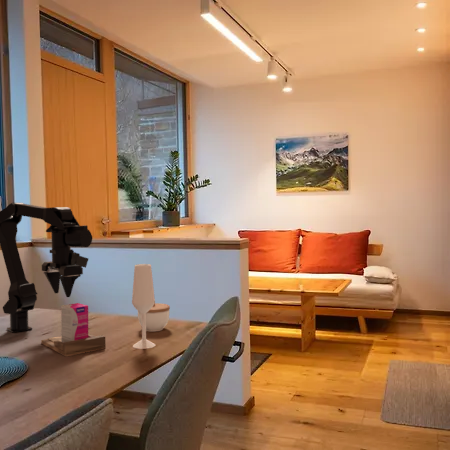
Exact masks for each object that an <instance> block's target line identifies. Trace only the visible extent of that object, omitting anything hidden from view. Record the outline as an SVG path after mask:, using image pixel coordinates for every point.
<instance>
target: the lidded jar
mask: <svg viewBox="0 0 450 450" xmlns="http://www.w3.org/2000/svg"><path fill="white" fill-rule="evenodd" d="M170 308H171V307H170V305H169V304H166V303H157V302H155V303H154V305H153V307H152V308H151V309H150V310H149V311H148V312H147V313H146V332H150V333H151V332H153V333H154V332H161V331H163V330H164V328H165V327H166V326H167V324H168V323H169V320H170ZM137 318H138V323H139V325H140V326H141V327H142V313H140V312H139V311H138V310H137Z"/></svg>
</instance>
